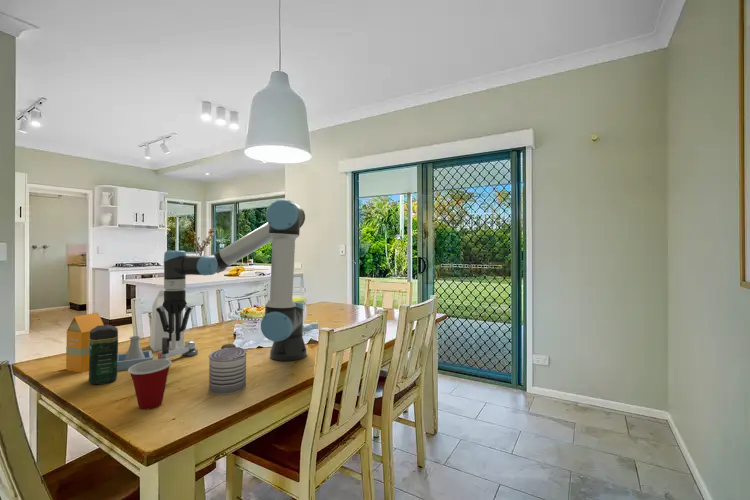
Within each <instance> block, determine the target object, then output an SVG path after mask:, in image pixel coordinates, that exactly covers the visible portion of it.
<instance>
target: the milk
mask: <svg viewBox="0 0 750 500" xmlns="http://www.w3.org/2000/svg"><path fill="white" fill-rule="evenodd" d="M164 291H165V289H160V290H159V291H158V294H157V295H156V298H155V299H154V301H153V303H152V309H151V322H150V323H151V324H150V336H149V347H150V349H152V350H151V351H152V352H160V351H162V338H163V337H169V333H168V332H164V330H163V326H162V323H161V319H160V315H159V313H158V312H157V310H156V309H157V308H159V307H161V306H162V305H163V303H164ZM164 309H165V308H164ZM164 311H165V314H166V318H167V322H168V326H169V316H168V312H167V311H166V309H165V310H164ZM183 318H184V309H183V310H182V312H181V325H182V322H183ZM174 330H175V314H174ZM174 332H175V331H174ZM184 333H185V330H184V331H182V332H181V333H180V340H179V341H178V348H180V347H184V346H185V334H184ZM169 350H172V341H170V348H169Z"/></svg>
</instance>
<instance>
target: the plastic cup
mask: <svg viewBox="0 0 750 500" xmlns="http://www.w3.org/2000/svg"><path fill="white" fill-rule="evenodd" d="M171 365H172V360H170V359H169V358H168V359H158V358H156V359H154V358H153V360H148V361H144V362H140V363H138V364H135V365H133V366H131V367H130V368H129V369H127V372H128V373H129V374H130V376H131V378H132V382H133V388H134V391H135V397H136V401H137V406H138V408H139V409H141V410H151V409H156V408H158V407H160V406H161V405H162V403H163V399H164V394H165V391H166V385H167V380H168V374H169V370H170V366H171Z"/></svg>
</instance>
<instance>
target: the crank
mask: <svg viewBox="0 0 750 500" xmlns="http://www.w3.org/2000/svg"><path fill="white" fill-rule="evenodd" d="M169 348H170V341H169V337H163V338H162V350H161V351H162V353H161V358H162V359H168V360H169V359H171V358H173V357H176V356H179V355H182V354H183V353H186V352H189V351H194V350H195V349H196V341H195V340H188V341H184V347H180V348H177V349H176V350H172V349H169Z"/></svg>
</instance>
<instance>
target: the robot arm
mask: <svg viewBox="0 0 750 500" xmlns="http://www.w3.org/2000/svg"><path fill="white" fill-rule="evenodd" d="M265 219H266V223H264V224H262V225H261V226H260V227H258V228H256V229H254V230H253V231H251V232H249V233H248V234H246V235H244V236H242V237H241V238H239V239H237V240H235V241H233V242H232V243H231V244H229V245H227V246H225V247H223V248H222V249H220V250H218V251H217V252H215V253H213V254H211V255H187V253H186V251H185V250H166V251H165V252H164V255H163V276H164V277H163V290H165V291H164V303H163V305H162V306H161V307H159V308H157V309H156V310H157V312H158V313H159V315H160V319H161V323H162V326H163V330H164V332H168V333H169V341H172V349H171V350H176V349H177V348H178V341H179V340H180V333H181V332H182V331H184V332H185V330H186V329H187V325H188V321H189V317H190V314H191V312H192V310H193V306H190V305H189V304H187V301H186V290H185V289H186V288H187V287H186V282H187V281H186V279H187V278H186V276H188V275H189V276H191V275H192V276H205V277H206V276H212V275H215V274H216V273H217V274H219V273H221V272H224V271H225V270H227V268H229V267H230V266H231V265H233V264H235V263H237V262H238V261H239V260H242V259H243V258H244V257H247V256H248V255H250V254H252V253H253V252H255V251H257V250H259V249H260V248H263V247H264V246H267V244H269V243H271V242H272V244H271V247H272V248H271V266H270V267H271V268H270V284H269V289H270V290H269V301H267V302H266V303H265V305H264V316H263V317H262V319H261V322H260V330H261V333H262V335H263V336H264V337H265V338H266V339H267V340H268V341H272V345H271V348H270V351H269V357H270V358H271V360H275V361H281V362H282V361H283V362H284V361H288V362H289V361H297V360H301V359H304V358H305V357H307V351H308V350H307V346H306V344H305V341H304V337H303V335H304V333H303V332H304V331H303V329H304V304H303V303H302V302H299V301H298V302H297V301H293V293H294V292H293V291H294V276H295V275H294V274H295V272H294V269H295V251H296V240H297V238H299V237H300V234H301V233H300V232H301V231H300V230H301V227H303V225H304V223H305V221H306V214H305V211H304V209H303V208H302V206H301V205H299V204H297V203H295V202H293V201H292V200H289V199H284V198H283V199H281V198H280V199H276V200H275V201H272V202H271V203H270V204H269V205H268V207H267V209H266V211H265ZM164 308H165V309H166V311H167V312H168V316H169V326H168V322H167V318H166V314H165V311H164V310H165V309H164ZM182 310H183V311H184V313H183V322H182V325H181V312H182ZM174 314H175V330H174ZM174 331H175V332H174Z"/></svg>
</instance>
